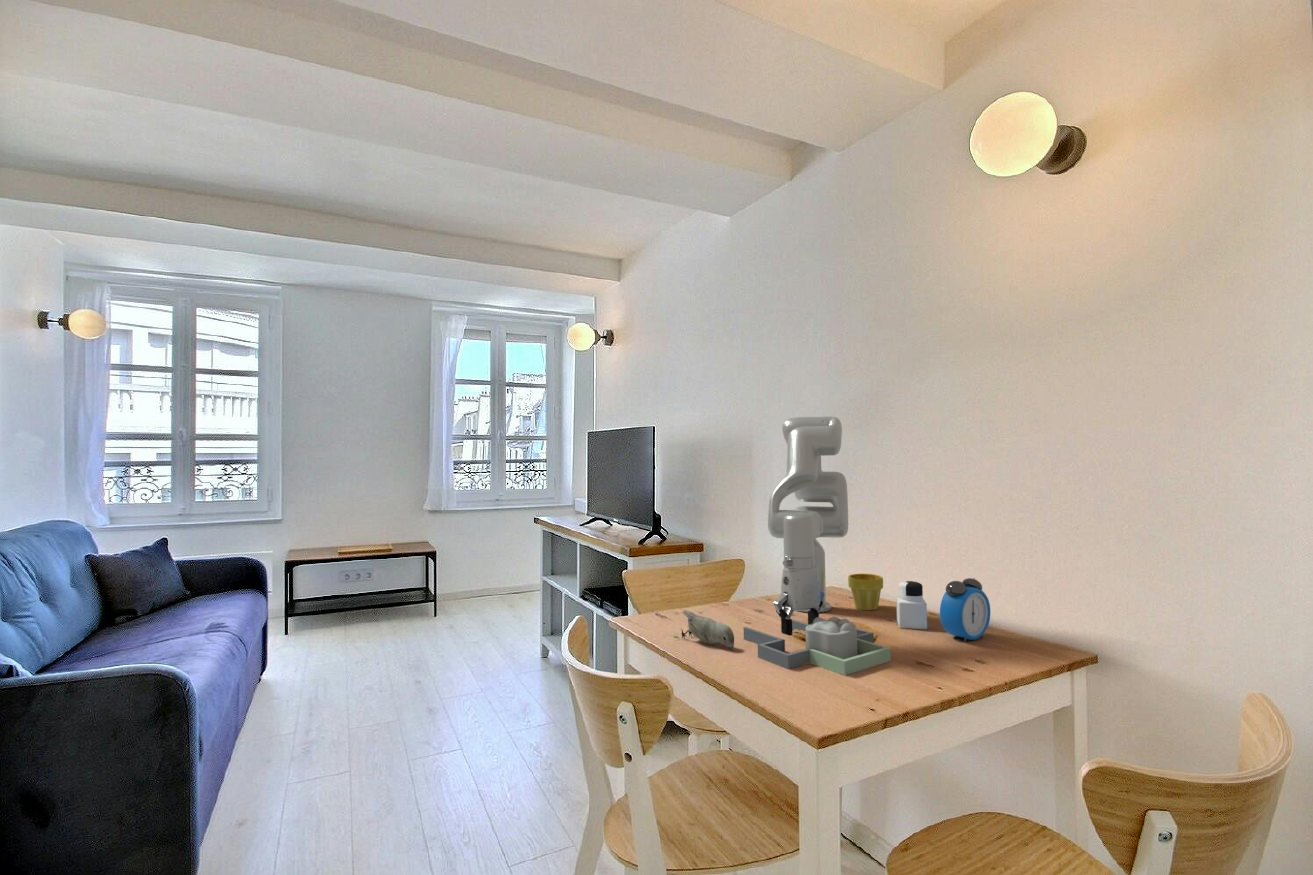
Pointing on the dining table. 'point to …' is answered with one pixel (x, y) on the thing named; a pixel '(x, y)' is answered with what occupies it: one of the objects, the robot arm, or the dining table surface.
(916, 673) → the dining table surface
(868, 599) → the plant pot
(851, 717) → the dining table surface
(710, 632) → the decorative bird
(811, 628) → the lumpy-topped squat cylinder
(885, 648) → the lane box
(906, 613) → the medicine bottle
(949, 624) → the alarm clock
